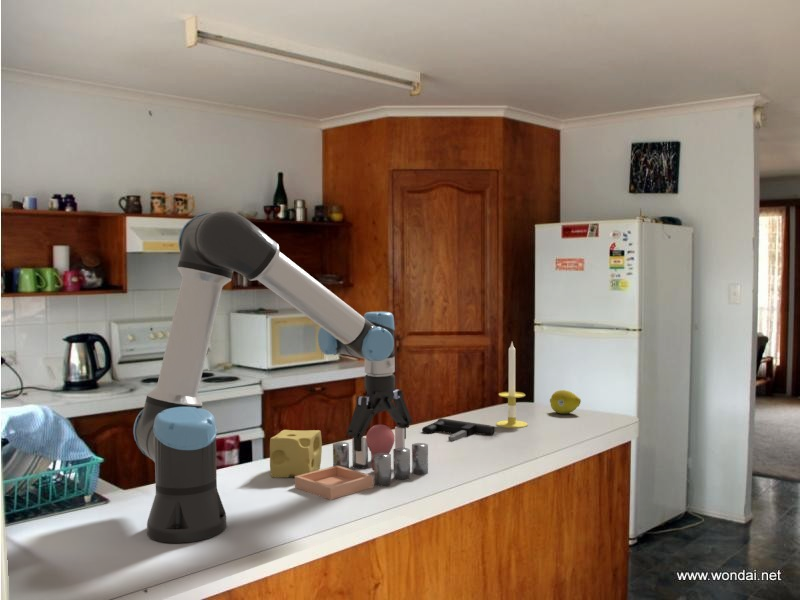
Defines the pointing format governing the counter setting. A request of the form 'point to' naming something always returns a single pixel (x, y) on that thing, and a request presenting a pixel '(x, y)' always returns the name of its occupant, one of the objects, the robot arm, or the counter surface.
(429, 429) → the black submachine gun
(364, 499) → the counter surface
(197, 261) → the robot arm
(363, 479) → the dish
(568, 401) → the lemon
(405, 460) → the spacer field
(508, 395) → the candle
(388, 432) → the light bulb
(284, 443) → the cheese
